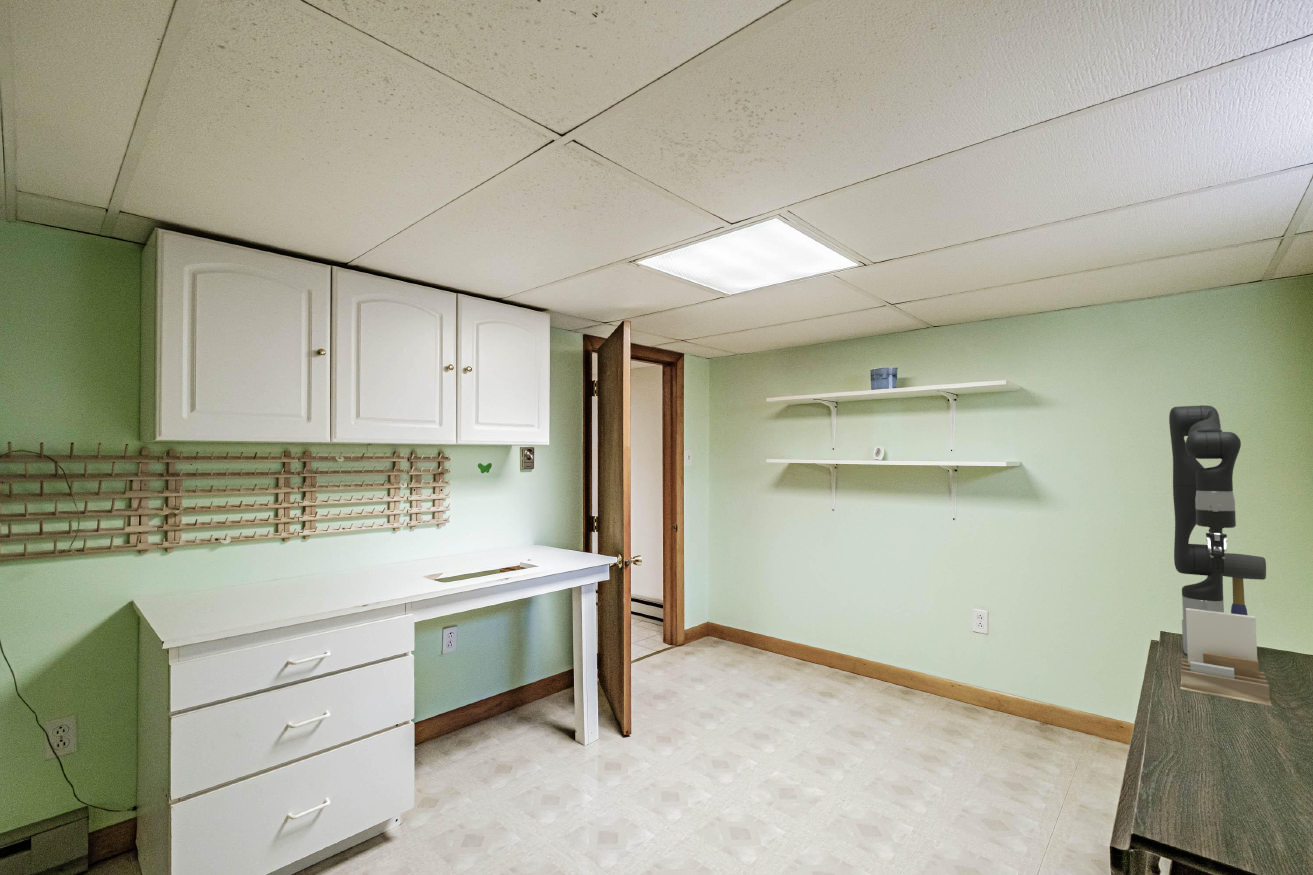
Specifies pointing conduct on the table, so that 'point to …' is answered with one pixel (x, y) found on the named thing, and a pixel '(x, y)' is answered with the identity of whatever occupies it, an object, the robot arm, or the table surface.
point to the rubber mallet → (1242, 576)
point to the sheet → (1220, 634)
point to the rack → (1226, 685)
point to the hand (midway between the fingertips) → (1217, 570)
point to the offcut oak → (1234, 664)
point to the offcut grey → (1212, 669)
